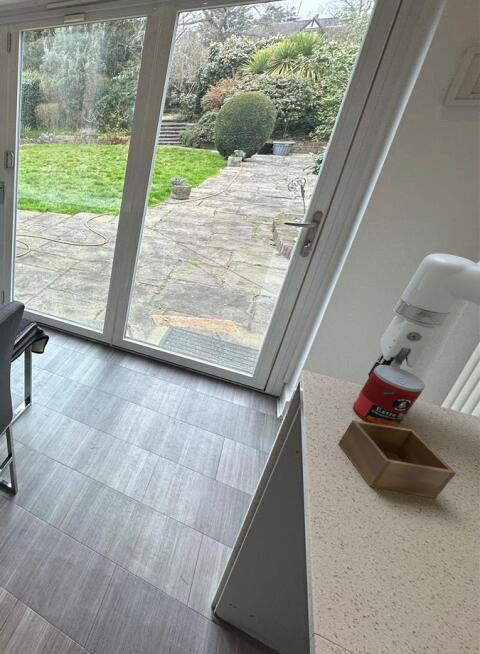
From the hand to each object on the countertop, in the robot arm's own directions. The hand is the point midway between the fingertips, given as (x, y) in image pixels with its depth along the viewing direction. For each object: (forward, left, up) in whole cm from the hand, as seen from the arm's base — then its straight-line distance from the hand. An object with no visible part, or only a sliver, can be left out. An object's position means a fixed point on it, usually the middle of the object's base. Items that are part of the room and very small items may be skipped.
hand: (377, 379), depth 94 cm
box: (+11, +24, -4) cm, 27 cm away
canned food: (+4, +8, -4) cm, 10 cm away
